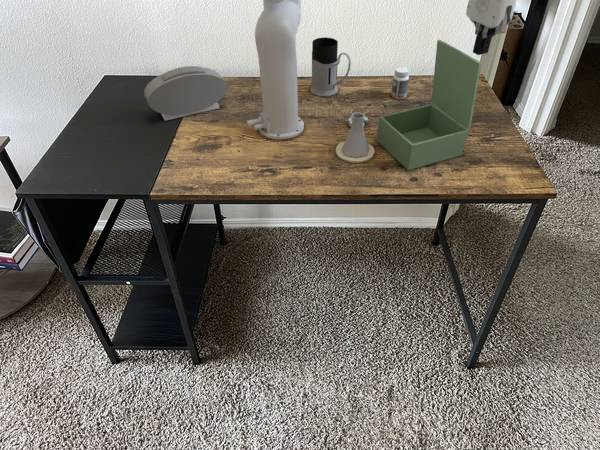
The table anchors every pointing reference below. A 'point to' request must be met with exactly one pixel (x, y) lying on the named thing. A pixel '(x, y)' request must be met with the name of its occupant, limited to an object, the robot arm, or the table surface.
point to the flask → (356, 138)
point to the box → (421, 136)
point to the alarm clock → (185, 91)
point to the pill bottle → (400, 83)
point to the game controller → (351, 120)
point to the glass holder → (325, 66)
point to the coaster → (351, 158)
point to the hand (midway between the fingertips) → (480, 52)
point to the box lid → (455, 83)
